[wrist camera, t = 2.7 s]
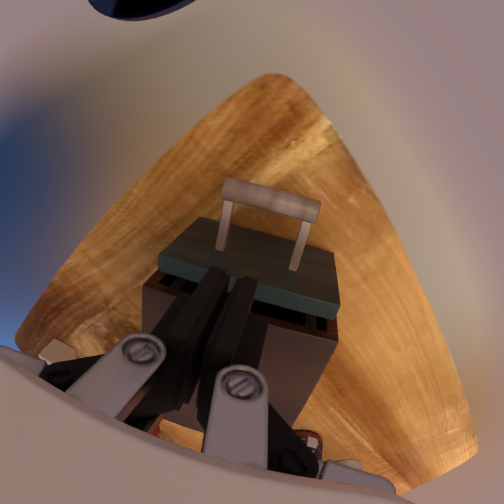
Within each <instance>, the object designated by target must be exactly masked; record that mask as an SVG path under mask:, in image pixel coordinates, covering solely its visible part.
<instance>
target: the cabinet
mask: <svg viewBox="0 0 504 504" xmlns="http://www.w3.org/2000/svg"><path fill="white" fill-rule="evenodd" d="M176 278H177V276H173V275H170V274H167V273H164V272H161V271H158V270H157V271H156V272H155V273H154V274H153V275H152V276H151V277H150V278H149V279H148V280H147V281H146V282H145V284H144V285H143V289H142V333H148V334H150V333H151V332H152V330H153V329H154V328H155V326H156V325H157V323H158V322H159V321H160V319H161V318H162V316H163V315H164V314H165V312H166V311H167V309H168V308H169V307H170V305H171V304H172V303H173V301H174V300H175V298H176V297H177V296H178V295H179V294H180V293H182V294H185V295H188V296H191V295H192V294H190V293H186V292H183V291H180V290H177V289H174V288H171V287H170V285H171V284H172V283H173V282H174V281H175V279H176ZM250 314H252V315H256V316H259V317H263V318H266V319H270V320H269V325H268V329H267V333H266V338H265V342H264V346H263V350H262V354H261V359H260V363H259V367H258V371H259V372H260V373H261V374H262V375H263V376H264V377H265V379H266V380H267V383H268V402H269V403H270V404H271V405H272V406H273V408H274V409H275V410H276V411H277V412H278V413H279V415H280V416H281V417H282V418H283V419H284V420H285V421H286V423H287V424H288V425H289V426H290V427H292V425H293V424H294V422H295V420H296V419H297V417H298V415H299V414H300V412H301V410H302V409H303V407H304V405H305V404H306V402H307V400H308V398H309V397H310V395H311V393H312V391H313V390H314V388H315V386H316V384H317V382H318V380H319V379H320V377H321V375H322V373H323V371H324V369H325V367H326V366H327V364H328V362H329V360H330V358H331V356H332V354H333V352H334V350H335V348H336V346H337V344H338V329H337V317H335V319H334V320H329V319H325V318H322V317H318V316H316V329H313V328H310V327H306V326H302V325H298V324H294V323H290V322H286V321H283V320H279V319H275V318H271V317H268V316H264V315H261V314H257V313H253V312H250ZM199 381H200V380H199ZM198 387H199V382H198V384H197V386H196V389H195V391H194V393H193V396H192V398H191V400H190V402H189V404H188V405H187V404H184V403H183V404H182V407H181V409H180V411H177V410H174V411H171V412H168V413H164V417H163V419H165V420H168V421H171V422H173V423H176V424H179V425H182V426H185V427H188V428H190V429H193V430H197V431H200V432H203V433H204V429H203V428H202V426H201V425H200V423H199V422H198V420H197V412H198V408H196V400H197V394H198Z"/></svg>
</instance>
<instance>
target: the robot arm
mask: <svg viewBox="0 0 504 504" xmlns="http://www.w3.org/2000/svg"><path fill="white" fill-rule="evenodd" d="M258 281H259V279H256V278H253V277H249V276H245V275H244V277H243V279H241V278H238V277H237V279H236V281H235V283H234V285H233V288H232V290H231V292H230V294H229V296H228V298H227V300H226V296H227V291H228V287H229V282H230V275H227V274H226V270H224V269H221V268H217V267H214V266H211V267H210V268H209V269H208V271H207V272H206V274H205V275H204V277H203V278H202V280H201V281H200V283H199V284H198V286H197V287H196V289H195V290H194V292H193V293H192V295H191V296H188V295H185V294H182V293H180V294H179V295H178V296H177V297H176V298H175V300H174V301H173V303H172V304H171V305H170V307H169V308H168V309H167V311H166V312H165V314H164V315H163V316H162V318H161V319H160V321H159V322H158V323H157V325H156V326H155V328H154V329H153V330H152V332H151V333H150V334H148V333H132V334H129V335H127V336H125V337H124V338H122V339H121V340H120V341H119V342H118V343H116V344H115V345H114V346H113V347H112V348H111V349H110V350H109V351H108V352H107V353H106V354H102V355H97V356H91V357H85V358H79V359H73V360H67V361H60V362H55V363H52V364H50V365H48V364H47V362H46V360H43V359H40V358H37V357H34V356H31V355H28V354H25V353H22V352H19V351H16V350H14V349H11V348H9V347H6V346H1V345H0V504H414V503H412V502H411V501H409V500H407V499H404V498H402V497H400V496H398V495H396V490H395V487H394V485H393V484H392V483H391V482H390V481H389V480H388V479H387V478H384V477H382V476H379V475H375V474H372V473H368V472H365V471H362V470H358V469H355V468H352V467H349V466H346V465H343V464H340V463H337V462H334V461H331V460H327V461H326V462H325V461H322V460H319V459H317V457H316V456H315V454H314V453H313V451H312V450H311V449H310V448H309V447H308V446H307V445H306V444H305V443H304V442H303V440H302V439H301V438H300V437H299V436H298V435H297V434H296V433H295V432H294V430H293V429H292V428H291V427H290V426H289V425H288V424H287V423H286V421H285V420H284V419H283V418H282V417H281V416H280V415H279V413H278V412H277V411H276V410H275V409H274V408H273V406H272V405H271V404H270V403H269V402H268V383H267V380H266V379H265V377H264V376H263V375H262V374H261V373H260V372H259V371H258V367H259V363H260V359H261V354H262V350H263V346H264V342H265V338H266V333H267V329H268V325H269V320H270V319H266V318H263V317H259V316H256V315H252V314H250V311H251V308H252V304H253V300H254V296H255V292H256V289H257V285H258ZM225 301H226V302H225ZM199 380H200V381H199ZM198 382H199V387H198V394H197V400H196V408H198V412H197V420H198V422H199V423H200V425H201V426H202V428H203V429H204V436H203V442H202V448H201V452H198V451H195V450H192V449H189V448H186V447H183V446H180V445H177V444H174V443H172V442H169V441H166V440H164V439H161V438H158V437H156V436H153V435H152V433H153V432H154V431H155V429H156V428H157V427H158V425H159V424H160V422H161V421H162V419H163V417H164V413H168V412H171V411H174V410H177V411H180V409H181V407H182V404H183V403H184V404H187V405H188V404H189V402H190V400H191V398H192V396H193V393H194V391H195V389H196V386H197V384H198Z"/></svg>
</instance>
